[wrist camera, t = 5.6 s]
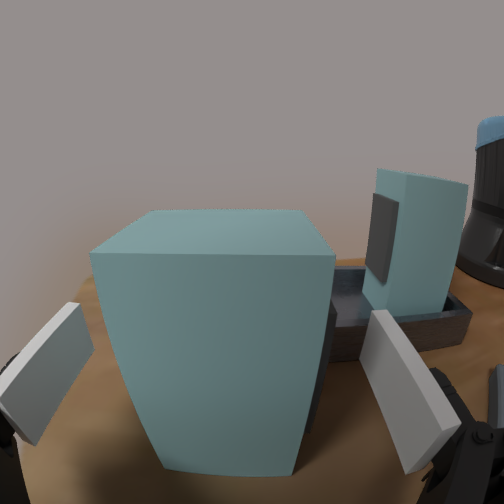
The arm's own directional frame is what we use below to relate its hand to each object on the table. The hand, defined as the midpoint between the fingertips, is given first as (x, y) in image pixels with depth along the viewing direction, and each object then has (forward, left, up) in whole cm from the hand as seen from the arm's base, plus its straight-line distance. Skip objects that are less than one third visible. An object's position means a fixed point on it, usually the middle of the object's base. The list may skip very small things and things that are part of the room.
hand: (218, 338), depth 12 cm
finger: (0, +1, -6) cm, 6 cm away
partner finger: (-14, -10, -4) cm, 18 cm away
